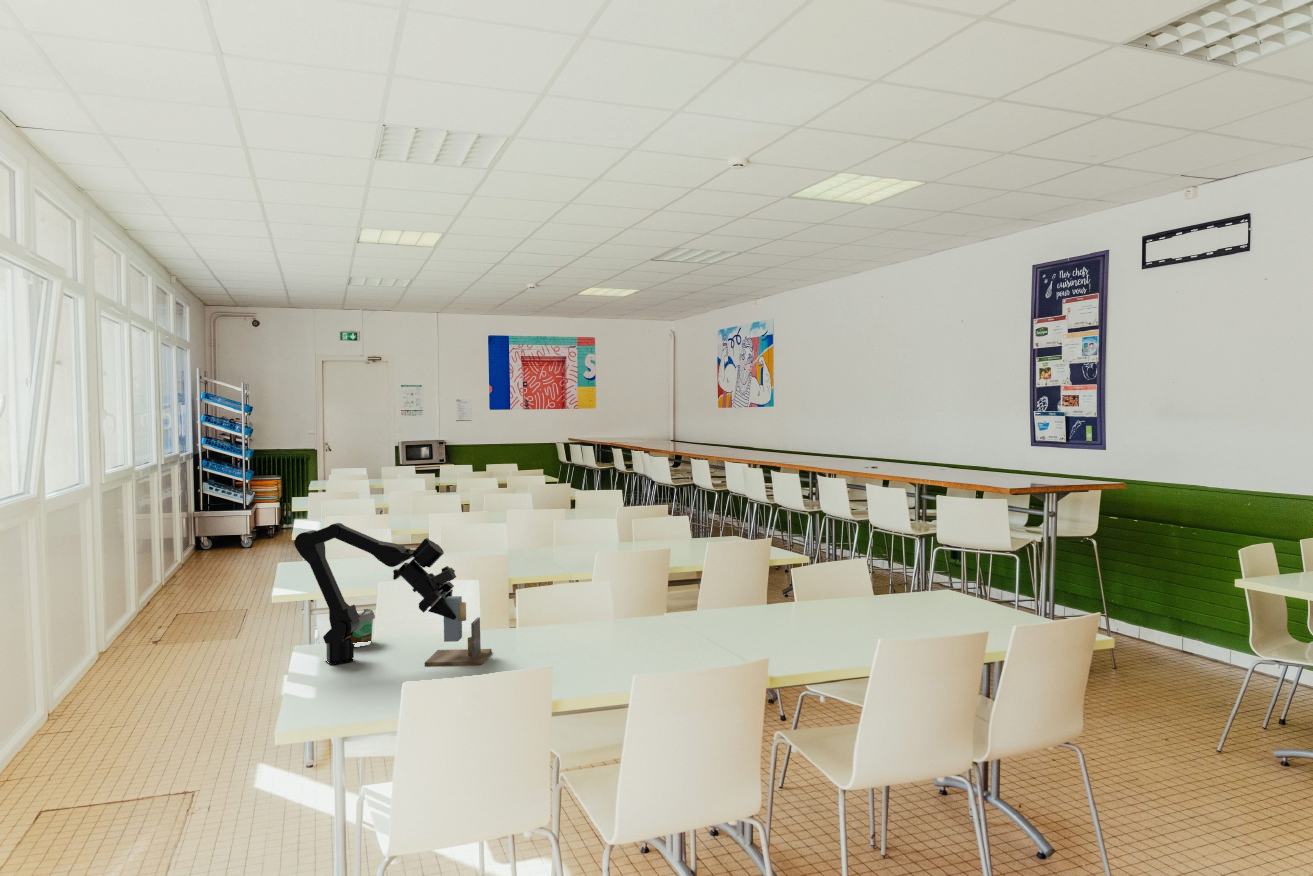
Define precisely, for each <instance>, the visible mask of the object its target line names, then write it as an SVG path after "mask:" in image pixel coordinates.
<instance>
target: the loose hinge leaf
mask: <svg viewBox="0 0 1313 876" xmlns="http://www.w3.org/2000/svg"><path fill="white" fill-rule="evenodd" d="M462 600H463V599H462V596H459V595H458V596H457V595H456V596H453V595H452V596H448V597H447V598H445V602H446V603H447V605H448V606H449V607H450V609H451V610H452V611H453V612H454V614H455V615H456V618H455V619H454V620H453V619H450V618H447V617H444V616H443V642H444V643H445V642H446V643H447V642H454V643H455V642H459V641H460V640H461V639H462V638H463V622H465V621H467V602H465V601H462Z"/></svg>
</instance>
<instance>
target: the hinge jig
mask: <svg viewBox="0 0 1313 876" xmlns="http://www.w3.org/2000/svg"><path fill="white" fill-rule="evenodd" d="M470 624H471V625H470V627H471V628H470V629H471V630H470V631H471V633H470V634H471V636H469V637H467V648H466V649H463V648H461V649H460V648H459V649H437V650H436V651H435V652H433V654H432V655H431V656H429V658H428V659H427V660H426V661H424V667H438V666H439V667H440V666H441V667H442V666H443V667H444V666H447V667H448V666H450V667H451V666H478V665H479V666H481V665H483V664H484V662H485V661H486V660H487V659H488V657H489V656H490V655H491V654H492V648H481V644H482V643H481V617H476V618H475V619H474V620H473V621H472V622H471V623H470Z"/></svg>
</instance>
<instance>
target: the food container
mask: <svg viewBox="0 0 1313 876" xmlns="http://www.w3.org/2000/svg"><path fill="white" fill-rule="evenodd" d="M358 614H359V615H360V617H359V621H360V623H359V626H358V628H357V629H356V630H355V631H354V632H353V635H352V637H349V638H351V639H352V643H357V642H368V641H371V642H372V638H373V622H374V621H373V620H374V619H375V618H376V615H375V612H374V610H373V609H370V608H363V612H360V613H358ZM354 645H355V644H354Z"/></svg>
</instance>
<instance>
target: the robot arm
mask: <svg viewBox="0 0 1313 876" xmlns="http://www.w3.org/2000/svg"><path fill="white" fill-rule="evenodd" d="M333 539H336V540H337V541H338V540H339V541H340V542H343V543H346V544H348V545H351V546H352V547H355V548H358V549H360V550H362V551H364V552H366V553H369V554H370V555H372V556H374V558H375V559H377V560H378V561H379V562H380V563H382V564H383V565H385V566H387V567H388V568H395V567H397V566H399V565H401V564H402V565H401V566H400V567H399V568H395V569H393V571H392V572H393V576H392V579H393V580H394V581H395V580H398V579H399V578H401V577H402V579H403V580H404V581H406V582H407V583H408V584H409V585H410V587H412V591H413V593H416V592H417V594H419V595H420V596H421V597H422V598H423V599H422V600H420V601H419V603H418V609H419V610H420V611H421V612H423V613H425V612H429V613H433V614H436V615H439V616H442V617H443V618H444V617H447V618H450V619H453V620H454V619H455V618H456V615H455V614H454V612H453V611H452V610H451V609H450V607H449V606H448V605H447V603H446V602H445V598H447V597H448V596H453V588H454V587H455V586H454V584H453V583H452V582H451V581H453V580H455V579H456V578H457V575H456V573H455V572H456V571H455V569H453V567H449V566H448V565H447V566H445V567H443V568H441V572H440V573H437V574H436V575H434V573H433V572H432V573H431V572H430V573H428V571H426V570H425V569H426V568H431V567H432V566H433V565H434V564H435V563H436V562H437V561H438V560H439V559H440V558H441V557H442V556H443V555H444V553H445V552H444V550H443V549H442V547H441V546H440V545H439V544H437V543H435V542H434V541H432V540H430V539H429V538H428V537H427V538H424V539H423V540H422V542H421V543H420V544H419V545H418V547H416V548H415V549H411V548H406V547H405V546H404V545H403V544H398V543H394V542H389V541H382V540H378V539H377V538H374V537H372V536H370V535H367V534H365V533H362V532H360V531H358V530H355V529H354V528H351V527H349V526H346V525H344V524H343V523H340V522H336V523H331V524H330V525H329V526H326V527H323V528H321V529H318V530H316V529H315V530H314V529H312V530H308V531H305V532H300V533H298V535H296V537H295V540H294V541H293V544H294V548H295V549H296V551H297V553H299V555H300V557H302V558H303V560H305V561H306V562H307V563H308V565H309V567H310V569H311V571H312V573H313V575H314V578H315V580H316V582H317V585H318V587H319V588H320V591H321V593H322V596H323V599H324V601H325V602H326V605H327V607H328V611H329V612H328V614H329V615H328V617H329V620H328V621H329V624H330V629H329V630H328V631H327V632H326V633H325V634H324V635H323V637H322V639H323V641H324V643H325V644H326V659H327V661H328V662H329V663H330V664H334V665H336V664H335V663H340V664H342V663H341V662H346V663H348V662H347V661H352V662H354V661H355V658H354V656H355V654H354V653H355V650H354V649H355V648H354V644H353V643H352V639H351V638H349V637H352V635H353V632H354V631H355V630H356V629H357V628H358V626H359V623H360V621H359V617H360V615H359V614H360V613H359V612H358V611H357V607H356V605H355V604H352V605H349V604H348V603H347V602H346V601H345V598H344V596H343V594H342V591H341V589H340V588H339V585H338V583H337V581H336V579H335V576H334V574H333V571H332V569H331V567H330V565H329V562H328V560H327V558H326V542H328V541H331V540H333ZM410 559H412V560H410ZM408 560H410V561H409V562H406V561H408ZM424 568H425V569H424ZM428 608H429V609H428ZM353 660H354V661H353ZM329 663H328V664H329ZM330 664H329V665H330Z"/></svg>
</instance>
